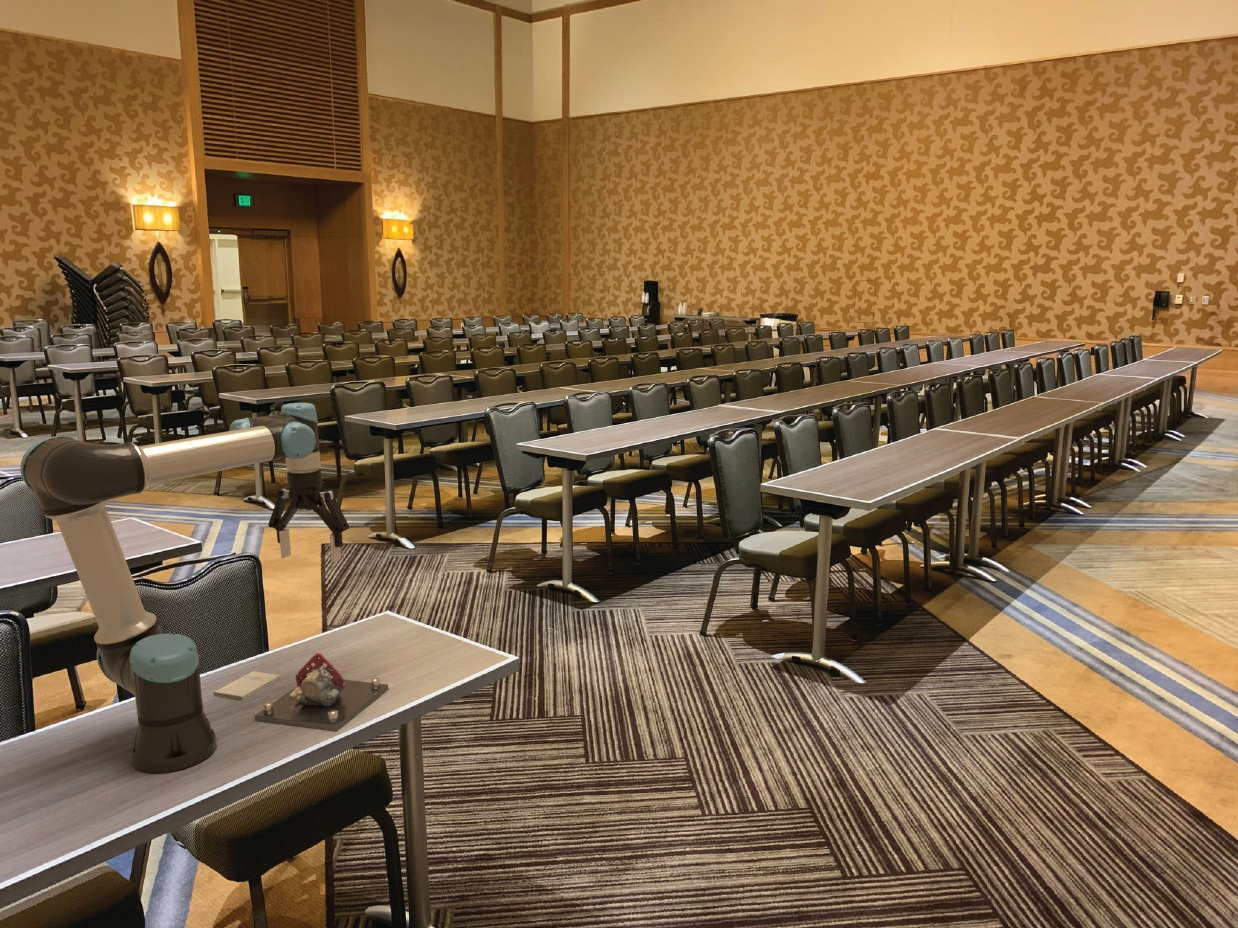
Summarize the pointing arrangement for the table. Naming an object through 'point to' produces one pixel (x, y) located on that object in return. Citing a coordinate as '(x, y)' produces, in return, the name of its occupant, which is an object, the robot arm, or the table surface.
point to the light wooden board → (246, 685)
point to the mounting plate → (324, 707)
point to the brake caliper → (317, 684)
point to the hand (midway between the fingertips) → (311, 558)
